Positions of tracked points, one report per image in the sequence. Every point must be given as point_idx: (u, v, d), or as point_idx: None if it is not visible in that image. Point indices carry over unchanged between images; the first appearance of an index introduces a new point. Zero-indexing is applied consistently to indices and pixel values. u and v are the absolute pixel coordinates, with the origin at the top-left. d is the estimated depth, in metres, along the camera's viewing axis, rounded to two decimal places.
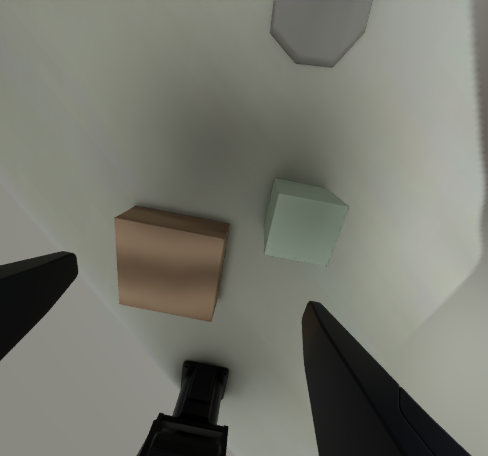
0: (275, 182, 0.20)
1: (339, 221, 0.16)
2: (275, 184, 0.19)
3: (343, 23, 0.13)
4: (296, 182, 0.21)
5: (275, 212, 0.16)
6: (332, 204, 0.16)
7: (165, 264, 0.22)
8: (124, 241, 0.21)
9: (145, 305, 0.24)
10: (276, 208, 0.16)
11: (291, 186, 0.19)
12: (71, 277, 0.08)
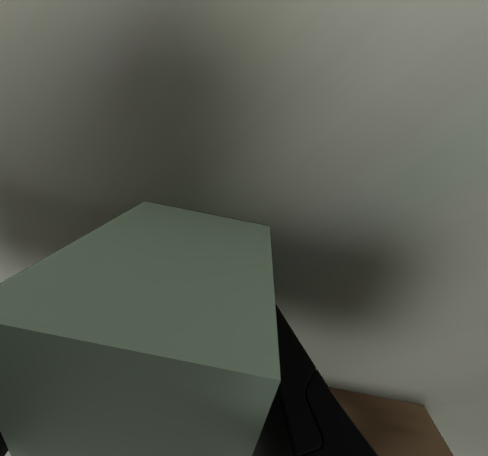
0: None
1: (29, 342, 0.03)
2: None
3: None
4: None
5: None
6: None
7: None
8: None
9: None
10: None
11: None
12: None
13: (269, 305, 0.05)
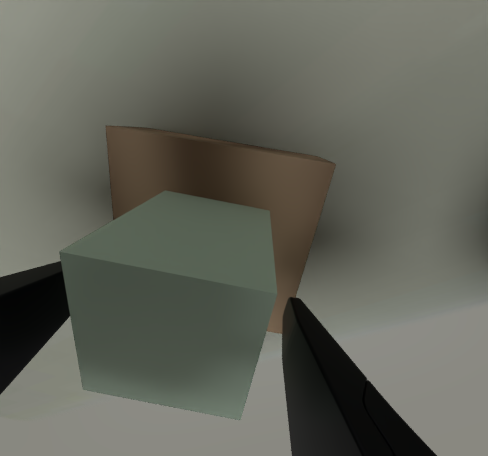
0: None
1: (111, 271, 0.05)
2: None
3: None
4: None
5: (127, 396, 0.07)
6: (69, 292, 0.06)
7: None
8: None
9: (286, 295, 0.12)
10: (117, 394, 0.07)
11: None
12: None
13: (269, 258, 0.06)
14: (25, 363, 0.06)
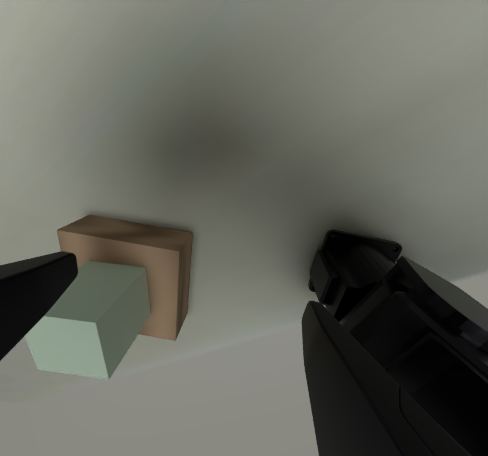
0: None
1: None
2: None
3: None
4: None
5: (57, 371, 0.15)
6: None
7: None
8: None
9: (171, 317, 0.21)
10: (53, 370, 0.15)
11: None
12: (71, 277, 0.08)
13: (110, 304, 0.15)
14: None
